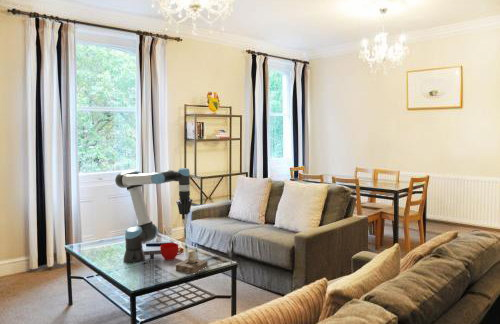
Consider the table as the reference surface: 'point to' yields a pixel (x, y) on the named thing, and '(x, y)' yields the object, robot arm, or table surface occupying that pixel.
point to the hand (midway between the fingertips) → (184, 223)
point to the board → (191, 266)
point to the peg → (191, 257)
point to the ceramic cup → (169, 250)
